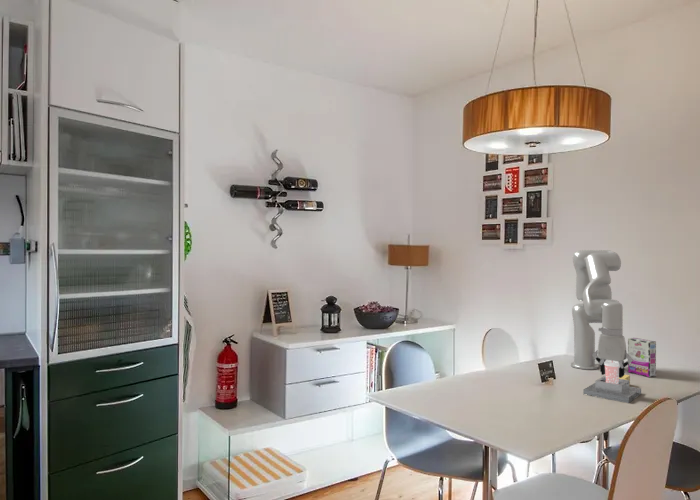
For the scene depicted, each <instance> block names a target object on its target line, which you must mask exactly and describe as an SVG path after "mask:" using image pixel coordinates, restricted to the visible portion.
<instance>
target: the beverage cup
mask: <svg viewBox="0 0 700 500" xmlns="http://www.w3.org/2000/svg"><path fill="white" fill-rule="evenodd" d="M604 365H605V374H604V376H606V382H609V383H614V384H618V383H619V368H620V365H619V362H618V361H611V360H606V361H605V362H604Z"/></svg>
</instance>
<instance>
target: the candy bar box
mask: <svg viewBox="0 0 700 500" xmlns="http://www.w3.org/2000/svg"><path fill="white" fill-rule="evenodd" d="M627 353H628V354H629V356H630V357H631V358H632V359H633V361H632V362H631V363H629V364H628V365H627V372H628V373H630V374H634V375H638V376H643V377H647V378H654V377H656V376H657V341H656V340H655V341H654V340H649V339H642V338H638V337H629V338H627Z"/></svg>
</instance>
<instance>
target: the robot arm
mask: <svg viewBox="0 0 700 500" xmlns="http://www.w3.org/2000/svg"><path fill="white" fill-rule="evenodd" d="M572 263H573V266H574V269H575V273H576V275H575V276H576V278H575V279H576V280H575V281H576V282H575V297H576V299H577V300H578V301H579V302H583V303H576V304H575V305H573V306H572V308H571V315H572V321H573V361H572V362H570V366H571V367H572V368H575V369H578V370H579V369H581V370H591V371H592V370H596V369H599V367H600V370H599V371H600V373H601V376H605V365H604V362H606V361H613V362H618V363H619V365H620V368H619V378H622V377H623V376H624V375H625V368H626V367H628V364H629V363H631V362H632V361H633V359H632V358H631V357H630V356H629V354H628V350H627V345H626V339H625V336H624V334H623V333H624V332H623V331H624V330H623V329H624V328H623V327H624V326H623V321H624V319H623V315H624V314H623V309H624V307H623V304H622V303H621V302H620V301H619V300H617V299H612V295H613V294H612V293H613V292H612V288H611V285H610V284H611V283H612V279H611V275H610V272H617V271H619V270H621V267H622V260H621V257H620V255H619V254H618V253H617V252H614V251H612V250H608V249H607V250H602V249H599V250H598V249H596V250H594V249H593V250H592V249H590V250H589V249H588V250H586V249H584V250H583V249H582V250H578V251H575V252H574V253H573V255H572ZM590 324H601V327H598V332H600V333H601V334H599V337H598V342H597V343H598V345H597V350H596V332H595V330H594V328H593V327H592V326H591V325H590ZM625 360H627V361H625ZM596 361H597V362H598V363H596ZM598 364H599V365H598Z"/></svg>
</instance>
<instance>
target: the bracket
mask: <svg viewBox="0 0 700 500" xmlns="http://www.w3.org/2000/svg"><path fill="white" fill-rule="evenodd" d="M619 379H624V380H629V386H630V385H631V376H630V374H624V376H623V377H622V378H619Z"/></svg>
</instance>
